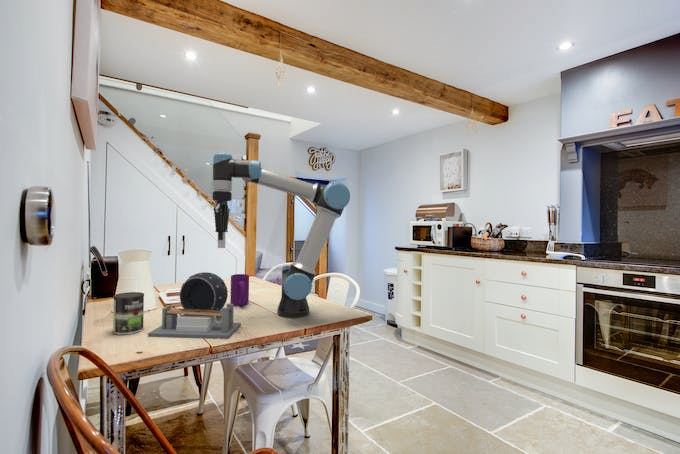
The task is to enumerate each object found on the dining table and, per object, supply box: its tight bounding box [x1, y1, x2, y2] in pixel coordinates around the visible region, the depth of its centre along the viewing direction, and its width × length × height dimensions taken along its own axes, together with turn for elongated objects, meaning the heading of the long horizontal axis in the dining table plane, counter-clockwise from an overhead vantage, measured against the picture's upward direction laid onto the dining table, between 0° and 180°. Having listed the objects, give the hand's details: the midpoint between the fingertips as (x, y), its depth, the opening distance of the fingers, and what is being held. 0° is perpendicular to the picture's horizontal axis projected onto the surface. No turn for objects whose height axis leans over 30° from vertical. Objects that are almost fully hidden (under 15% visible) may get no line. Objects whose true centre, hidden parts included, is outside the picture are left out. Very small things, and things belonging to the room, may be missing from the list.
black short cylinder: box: [179, 271, 229, 311], centre depth 157 cm, size 11×20×20 cm, turn 78°
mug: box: [229, 273, 250, 307], centre depth 179 cm, size 9×16×15 cm, turn 24°
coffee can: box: [112, 291, 145, 336], centre depth 137 cm, size 10×10×14 cm
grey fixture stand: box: [147, 303, 242, 340], centre depth 138 cm, size 30×16×10 cm, turn 89°
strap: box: [167, 307, 232, 317], centre depth 138 cm, size 24×4×2 cm, turn 89°
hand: (221, 247), depth 147 cm, fingers closed
